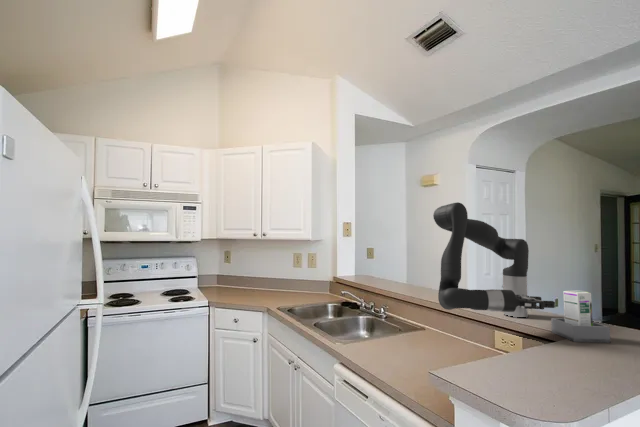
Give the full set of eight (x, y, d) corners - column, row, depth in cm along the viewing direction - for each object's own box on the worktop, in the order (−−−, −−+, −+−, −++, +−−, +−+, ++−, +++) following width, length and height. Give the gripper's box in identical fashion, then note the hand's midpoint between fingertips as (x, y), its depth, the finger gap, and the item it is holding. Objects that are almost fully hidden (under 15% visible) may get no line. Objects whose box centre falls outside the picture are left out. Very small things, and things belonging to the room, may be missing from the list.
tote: (551, 332, 126) (551, 318, 127) (584, 332, 126) (584, 318, 126) (573, 341, 115) (573, 326, 115) (610, 342, 115) (609, 327, 115)
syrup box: (580, 336, 117) (578, 292, 118) (564, 332, 123) (562, 290, 124) (593, 335, 119) (592, 292, 120) (577, 331, 124) (575, 289, 125)
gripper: (507, 292, 117) (559, 294, 115) (490, 286, 131) (536, 288, 129) (507, 315, 116) (559, 317, 115) (490, 307, 131) (537, 308, 129)
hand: (547, 302), depth 122 cm, fingers open, 8 cm apart
